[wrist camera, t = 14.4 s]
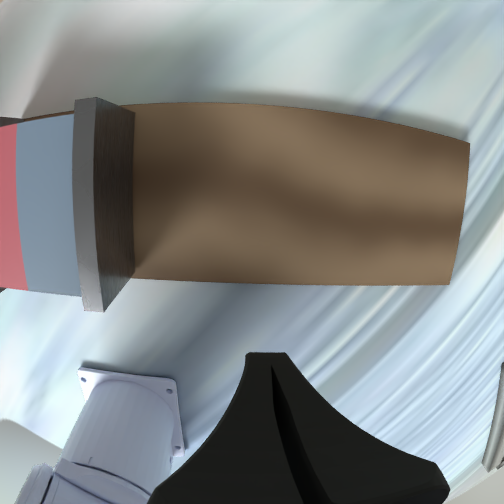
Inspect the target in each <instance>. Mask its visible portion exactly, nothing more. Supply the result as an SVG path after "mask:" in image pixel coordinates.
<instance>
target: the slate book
mask: <svg viewBox="0 0 504 504" xmlns="http://www.w3.org/2000/svg"><path fill="white" fill-rule="evenodd" d="M73 123H74V114H69V115H62V116H56V117H49V118H43V119H38V120H32V121H27V122H22V123H17V134H16V194H17V211H18V223H19V233H20V242H21V249H22V257H23V263H24V270H25V275H26V281H27V286H28V291H34V292H43V293H51V294H61V295H70V296H80V297H82V293H81V287H80V279H79V272H78V263H77V254H76V244H75V232H74V217H73V195H72V145H73Z"/></svg>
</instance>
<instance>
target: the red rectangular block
mask: <svg viewBox="0 0 504 504" xmlns="http://www.w3.org/2000/svg"><path fill="white" fill-rule="evenodd" d="M16 134H17V124H12V125H7V126H3V127H0V287H4V288H11V289H19V290H27V291H28V286H27V281H26V275H25V270H24V263H23V257H22V249H21V242H20V233H19V223H18V211H17V194H16Z"/></svg>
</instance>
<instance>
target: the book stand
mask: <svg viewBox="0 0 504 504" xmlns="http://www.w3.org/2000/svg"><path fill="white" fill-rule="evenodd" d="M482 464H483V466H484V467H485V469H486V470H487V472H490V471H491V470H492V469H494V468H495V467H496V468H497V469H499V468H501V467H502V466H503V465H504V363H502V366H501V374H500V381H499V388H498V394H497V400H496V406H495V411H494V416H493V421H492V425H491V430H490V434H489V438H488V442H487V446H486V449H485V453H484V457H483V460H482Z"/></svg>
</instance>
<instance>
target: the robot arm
mask: <svg viewBox="0 0 504 504" xmlns="http://www.w3.org/2000/svg"><path fill="white" fill-rule="evenodd" d="M77 375H78V378H79V382H80V385H81V388H82V391H83V394H84V397H85V400H86V403H85V405H84V407H83V409H82V411H81V413H80V415H79V417H78V419H77V421H76V423H75V425H74V427H73V429H72V432H71V434H70V436H69V438H68V440H67V442H66V444H65V446H64V448H63V451H62V453H61V455H60V457H59V459H58V462H57V464H56V465H55V467H54V468H53V469H52V467H51V466H49V465H48V464H46V463H43V464H42V465H34V466H33V467H32V469H31V471H30V473H29V475H28V477H27V479H26V481H25V483H24V485H23V487H22V489H21V491H20V493H19V495H18V497H17V500H16V502H15V504H442V503H443V502H444V501H445V500H446V498H447V497H448V495H449V492H450V487H449V485H448V483H447V481H446V479H445V477H444V476H443V474H442V472H441V470H440V469H439V467H438V466H437V464H436V463H434V462H431V461H428V460H425V459H422V458H419V457H417V456H414V455H411V454H408V453H406V452H403V451H401V450H399V449H397V448H395V447H392V446H390V445H388V444H386V443H384V442H382V441H381V440H379V439H377V438H375V437H374V436H372V435H370V434H369V433H367V432H365V431H364V430H362V429H361V428H359V427H358V426H356V425H355V424H353V423H352V422H351V421H349V420H348V419H347V418H345V417H344V416H343V415H342V414H340V413H339V412H338V411H337V410H336V409H335V408H333V407H332V406H331V405H330V404H329V403H328V402H327V401H326V400H325V399H324V398H323V397H322V396H321V395H320V394H319V393H318V392H317V391H316V390H315V388H314V387H313V386H312V385H311V384H310V383H309V382H308V381H307V379H306V378H305V377H304V376H303V375H302V373H301V372H300V371H299V370H298V368H297V367H296V366H295V364H294V363H293V362H292V360H291V359H290V358H289V356H288V355H287V354H286V353H285V352H284V353H261V352H249V353H248V354H246V356H245V367H244V371H243V374H242V377H241V380H240V383H239V385H238V388H237V390H236V392H235V394H234V396H233V398H232V400H231V402H230V404H229V406H228V408H227V410H226V412H225V413H224V415H223V417H222V418H221V420H220V421H219V423H218V424H217V426H216V427H215V429H214V430H213V431H212V433H211V434H210V435H209V437H208V438H207V439H206V440H205V442H204V443H203V444H202V445H201V446H200V448H199V449H198V450H197V451H196V452H195V453H194V454H193V455H192V456H191V457H190V458H189V459H188V460H187V461H186V462H185V463H184V464H183V465H182V466H181V467H180V468H179V469H178V470H177V471H175V472H174V473H173V474H172V475H171V476H170V474H171V468H172V461H173V456H177V457H182V456H184V455H185V448H184V442H183V435H182V427H181V420H180V412H179V404H178V395H177V386H176V382H175V381H174V380H173V379H170V378H160V377H149V376H140V375H132V374H124V373H116V372H109V371H102V370H96V369H90V368H84V367H80V368H79V369H78V371H77ZM83 377H84V378H85V379H84V378H83ZM168 389H171V390H172V391H170V390H168Z"/></svg>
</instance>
